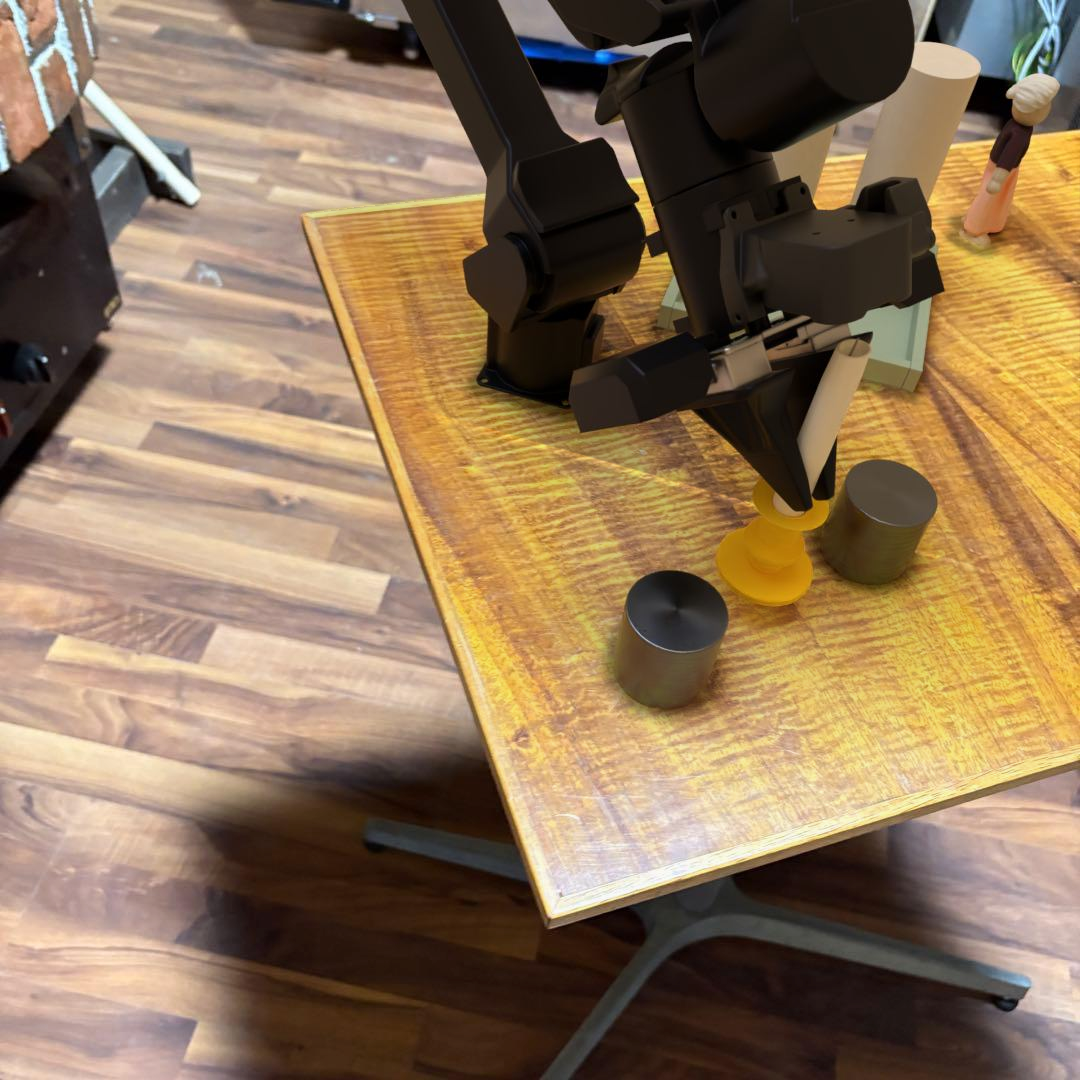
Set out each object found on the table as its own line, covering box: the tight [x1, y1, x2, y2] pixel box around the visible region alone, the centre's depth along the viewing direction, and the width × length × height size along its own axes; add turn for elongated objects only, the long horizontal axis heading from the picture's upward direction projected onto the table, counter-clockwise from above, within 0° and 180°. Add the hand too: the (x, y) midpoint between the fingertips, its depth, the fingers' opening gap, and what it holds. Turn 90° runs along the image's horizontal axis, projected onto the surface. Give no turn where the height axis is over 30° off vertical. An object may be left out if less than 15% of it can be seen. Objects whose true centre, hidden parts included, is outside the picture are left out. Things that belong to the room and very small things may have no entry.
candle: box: [714, 337, 872, 607], centre depth 49 cm, size 5×5×16 cm
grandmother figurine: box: [958, 72, 1061, 247], centre depth 77 cm, size 8×4×13 cm, turn 168°
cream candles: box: [772, 41, 982, 205], centre depth 70 cm, size 12×5×16 cm, turn 72°
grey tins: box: [612, 458, 939, 710], centre depth 54 cm, size 5×20×5 cm, turn 125°
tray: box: [656, 243, 939, 394], centre depth 73 cm, size 18×16×2 cm
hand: (814, 504), depth 49 cm, fingers closed on candle
